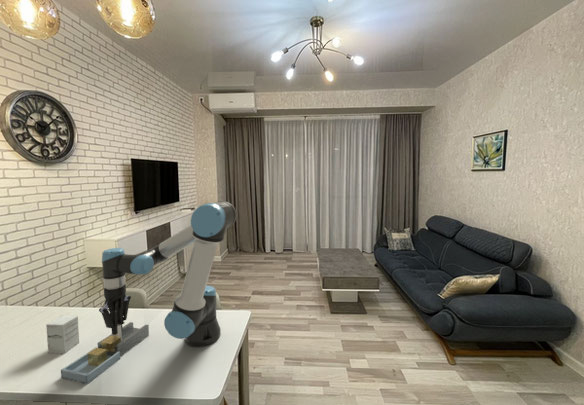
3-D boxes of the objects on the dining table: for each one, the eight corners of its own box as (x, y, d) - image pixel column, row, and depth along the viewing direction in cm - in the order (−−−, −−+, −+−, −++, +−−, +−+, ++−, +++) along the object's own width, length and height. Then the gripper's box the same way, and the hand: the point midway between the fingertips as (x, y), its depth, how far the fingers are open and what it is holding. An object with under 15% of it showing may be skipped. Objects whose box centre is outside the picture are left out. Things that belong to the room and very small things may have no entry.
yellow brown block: (106, 349, 100) (97, 355, 97) (107, 360, 100) (98, 366, 97) (96, 347, 101) (87, 353, 98) (96, 358, 101) (88, 364, 98)
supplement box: (47, 353, 105) (45, 324, 104) (64, 342, 112) (62, 314, 111) (64, 354, 105) (62, 324, 104) (80, 342, 112) (78, 315, 111)
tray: (120, 358, 102) (119, 351, 102) (87, 384, 89) (87, 375, 89) (96, 354, 105) (95, 347, 105) (61, 377, 92) (60, 370, 92)
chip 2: (121, 345, 107) (120, 337, 106) (111, 352, 102) (110, 343, 102) (111, 343, 108) (111, 335, 108) (101, 350, 103) (100, 342, 103)
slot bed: (148, 335, 118) (148, 324, 117) (118, 358, 102) (117, 346, 102) (131, 332, 120) (130, 322, 120) (98, 354, 105) (97, 343, 104)
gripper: (121, 279, 113) (123, 330, 115) (92, 291, 100) (95, 348, 102) (135, 280, 111) (137, 332, 113) (107, 293, 99) (110, 351, 101)
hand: (117, 339), depth 108 cm, fingers closed
